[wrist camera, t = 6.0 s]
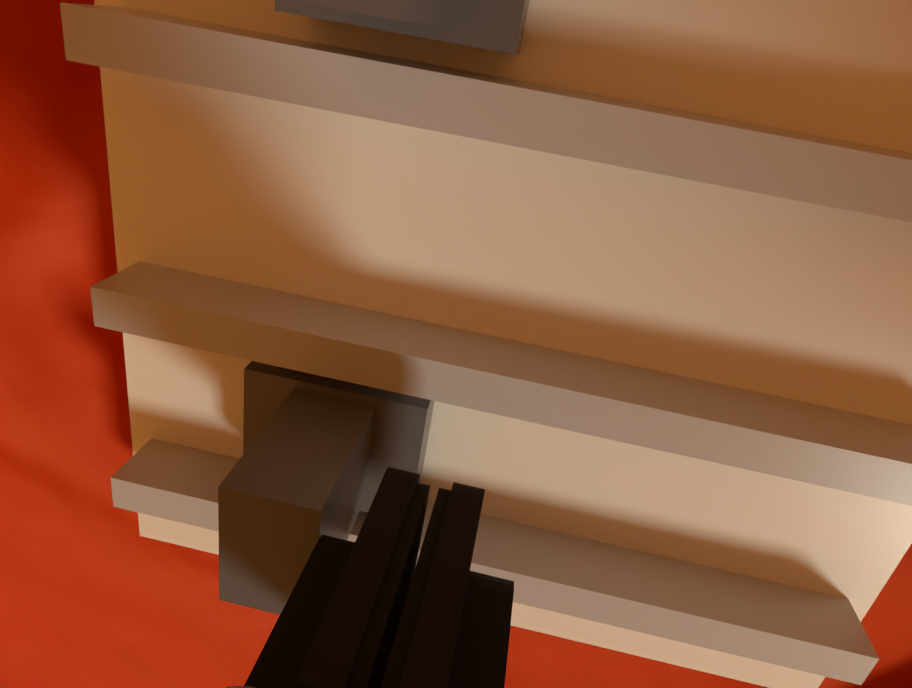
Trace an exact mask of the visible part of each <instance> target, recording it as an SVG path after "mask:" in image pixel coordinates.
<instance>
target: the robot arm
mask: <svg viewBox="0 0 912 688" xmlns="http://www.w3.org/2000/svg"><path fill="white" fill-rule="evenodd" d="M419 480H420V474H417V473H413V472H409V471H405V470H400V469H396V468H392V467H388V468H387V470H386V472H385V474H384V476H383V479H382V481H381V483H380V486H379V488H378V490H377V493H376V495H375V497H374V499H373V502H372V504H371V506H370V509H369V511H368V513H367V516H366V518H365V520H364V523H363V525H362V527H361V530H360V532H359V534H358V537H357V539H356V541H355V542H351V541H347V540H343V539H339V538H335V537H331V536H327V535H322V536H321V537H320V538H319V540H318V542H317V544H316V545H315V547H314V549H313V551H312V553H311V555H310V557H309V559H308V561H307V563H306V565H305V567H304V569H303V571H302V573H301V575H300V577H299V579H298V581H297V583H296V585H295V587H294V589H293V591H292V593H291V595H290V597H289V599H288V600H287V602H286V604H285V606H284V608H283V610H282V612H281V614H280V616H279V618H278V620H277V622H276V624H275V626H274V628H273V630H272V632H271V634H270V636H269V638H268V640H267V642H266V644H265V646H264V648H263V650H262V652H261V654H260V656H259V658H258V660H257V662H256V664H255V666H254V668H253V670H252V672H251V674H250V676H249V678H248V679H247V681H246V683H245V685H244V686H234V687H227V688H504V683H505V673H506V664H507V654H508V644H509V634H510V624H511V615H512V605H513V595H514V581H511V580H507V579H502V578H498V577H494V576H490V575H486V574H482V573H478V572H474V571H470V567H471V561H472V556H473V551H474V546H475V540H476V535H477V530H478V525H479V519H480V514H481V509H482V503H483V498H484V493H485V489H481V488H477V487H473V486H469V485H464V484H460V483H456V482H454V483H453V486H452V490H447V489H443V488H439V490H438V493H437V496H436V500H435V503H434V506H433V510H432V513H431V517H430V520H429V523H428V527H427V530H426V534H425V537H424V541H423V544H422V547H421V551H420V554H419V558H418V552H419V547H420V541H421V535H422V530H423V524H424V519H425V513H426V508H427V502H428V497H429V491H430V485H426V484H421V483H419ZM417 558H418V561H417ZM416 563H417V564H416Z"/></svg>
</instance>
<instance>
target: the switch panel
mask: <svg viewBox="0 0 912 688" xmlns="http://www.w3.org/2000/svg"><path fill="white" fill-rule="evenodd" d="M94 3H95V5H90V4H77V3H63V2H60V10H61V19H62V28H63V38H64V47H65V56H66V60H67V61H72V62H78V63H83V64H88V65H93V66H98V67H100V74H101V85H102V97H103V109H104V121H105V132H106V144H107V156H108V167H109V179H110V191H111V203H112V214H113V226H114V238H115V249H116V261H117V273H116V274H114V275H112V276H110V277H108V278H106V279H104V280H102V281H100V282H98V283H96V284H94V285H93V286H91V287H90V290H91V299H92V308H93V318H94V326H96V327H101V328H105V329H110V330H114V331H119V332H123V343H124V355H125V366H126V378H127V390H128V402H129V413H130V425H131V437H132V448H133V457H132V458H130V459H129V460H128V461H127V462H126V463H125V464H124V465H123V466H122V467H121V468H120V469H119V470H118V471H117V472H116V473H115V474H114V475H113V476H112V477H111V486H112V495H113V504H114V507H118V508H122V509H126V510H130V511H134V512H138V519H139V530H140V536H143V537H147V538H152V539H156V540H160V541H164V542H168V543H172V544H176V545H181V546H185V547H189V548H193V549H197V550H201V551H205V552H210V553H214V554H218V555H219V524H218V487H219V485H220V484H221V483H222V481H223V480H224V479H225V477H226V476H227V475H228V474H229V472H230V471H231V470H232V468H233V467H234V466H235V464H236V463H237V462H238V461H239V459H240V458H241V457H242V455H243V424H244V368H245V367H246V366H247V365H248V364H249V363H250V362H251V361H255V362H260V363H264V364H269V365H273V366H278V367H282V368H287V369H292V370H296V371H301V372H305V373H310V374H314V375H319V376H323V377H328V378H332V379H337V380H342V381H346V382H351V383H355V384H360V385H364V386H369V387H373V388H378V389H382V390H387V391H392V392H396V393H401V394H405V395H410V396H414V397H419V398H423V399H428V400H432V401H434V407H433V413H432V418H431V424H430V430H429V436H428V442H427V448H426V454H425V459H424V465H423V471H422V477H421V484H426V485H430V491H429V497H428V502H427V508H426V513H425V519H424V524H423V530H422V535H421V541H420V547H419V552H418V558H419V554H420V551H421V547H422V544H423V541H424V537H425V534H426V530H427V527H428V523H429V520H430V517H431V513H432V510H433V506H434V503H435V500H436V496H437V493H438V490H439V488H443V489H447V490H452V486H453V483H454V482H456V483H460V484H464V485H469V486H473V487H477V488H481V489H485V493H484V498H483V503H482V509H481V514H480V519H479V525H478V530H477V535H476V540H475V546H474V551H473V556H472V561H471V567H470V571H474V572H478V573H482V574H486V575H490V576H494V577H498V578H502V579H507V580H511V581H514V595H513V605H512V615H511V624H510V625H512V626H516V627H520V628H524V629H529V630H533V631H537V632H541V633H545V634H549V635H553V636H558V637H562V638H566V639H570V640H574V641H578V642H582V643H587V644H591V645H595V646H599V647H603V648H607V649H611V650H616V651H620V652H624V653H628V654H632V655H636V656H640V657H645V658H649V659H653V660H657V661H661V662H665V663H669V664H674V665H678V666H682V667H686V668H690V669H694V670H698V671H703V672H707V673H711V674H715V675H719V676H723V677H727V678H732V679H736V680H740V681H744V682H748V683H752V684H756V685H761V686H765V687H769V688H818V687H819V686H820V684H821V683H822V681H823V680H824V678H825V677H829V678H833V679H837V680H842V681H846V682H850V683H854V684H858V685H862V683H863V682H864V680H865V679H866V678H867V676H868V675H869V673H870V672H871V670H872V669H873V667H874V666H875V664H876V663H877V662H878V660H879V657H878V656H877V654H876V652H875V650H874V648H873V646H872V644H871V642H870V640H869V638H868V636H867V634H866V632H865V630H864V628H863V626H862V624H861V621H862V619H863V618H864V616H865V615H866V613H867V612H868V610H869V608H870V607H871V605H872V604H873V602H874V601H875V599H876V598H877V596H878V595H879V593H880V591H881V590H882V588H883V587H884V585H885V584H886V582H887V581H888V579H889V577H890V576H891V574H892V573H893V571H894V570H895V568H896V567H897V565H898V564H899V562H900V560H901V559H902V557H903V556H904V554H905V553H906V551H907V550H908V548H909V547H910V545H911V543H912V0H530V1H529V6H528V11H527V17H526V22H525V27H524V33H523V38H522V43H521V49H520V53H518V54H510V53H504V52H499V51H493V50H488V49H482V48H477V47H471V46H466V45H460V44H455V43H449V42H444V41H438V40H433V39H427V38H422V37H416V36H411V35H405V34H400V33H394V32H389V31H383V30H378V29H373V28H367V27H362V26H356V25H351V24H345V23H340V22H334V21H329V20H323V19H318V18H312V17H307V16H301V15H296V14H290V13H285V12H279V11H275V0H94ZM366 516H367V512H363V511H360V512H359V514H358V517H357V519H356V521H355V524H354V526H353V528H352V531H351V533H350V535H349V538H348V540H347V541H351V542H355V541H356V539H357V537H358V534H359V532H360V530H361V527H362V525H363V523H364V520H365V518H366ZM418 558H417V561H418ZM416 564H417V563H416Z"/></svg>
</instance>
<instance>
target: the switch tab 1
mask: <svg viewBox="0 0 912 688" xmlns="http://www.w3.org/2000/svg"><path fill="white" fill-rule="evenodd" d="M529 1H530V0H275V11H279V12H285V13H290V14H296V15H301V16H307V17H312V18H318V19H323V20H329V21H334V22H340V23H345V24H351V25H356V26H362V27H367V28H373V29H378V30H383V31H389V32H394V33H400V34H405V35H411V36H416V37H422V38H427V39H433V40H438V41H444V42H449V43H455V44H460V45H466V46H471V47H477V48H482V49H488V50H493V51H499V52H504V53H510V54H518V53H520V49H521V43H522V38H523V33H524V27H525V22H526V17H527V11H528V6H529Z"/></svg>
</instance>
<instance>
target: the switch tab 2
mask: <svg viewBox="0 0 912 688" xmlns="http://www.w3.org/2000/svg"><path fill="white" fill-rule="evenodd" d="M433 407H434V401H432V400H428V399H423V398H419V397H414V396H410V395H405V394H401V393H396V392H392V391H387V390H382V389H378V388H373V387H369V386H364V385H360V384H355V383H351V382H346V381H342V380H337V379H332V378H328V377H323V376H319V375H314V374H310V373H305V372H301V371H296V370H292V369H287V368H282V367H278V366H273V365H269V364H264V363H260V362H255V361H251V362H250V363H249V364H248V365H247V366H246V367H245V368H244V424H243V455H242V457H241V458H240V459H239V461H238V462H237V463H236V464H235V466H234V467H233V468H232V470H231V471H230V472H229V474H228V475H227V476H226V477H225V479H224V480H223V481H222V483H221V484H220V485H219V487H218V524H219V600H223V601H227V602H231V603H235V604H239V605H243V606H247V607H251V608H255V609H259V610H263V611H267V612H271V613H276V614H281V612H282V610H283V608H284V606H285V604H286V602H287V600H288V599H289V597H290V595H291V593H292V591H293V589H294V587H295V585H296V583H297V581H298V579H299V577H300V575H301V573H302V571H303V569H304V567H305V565H306V563H307V561H308V559H309V557H310V555H311V553H312V551H313V549H314V547H315V545H316V544H317V542H318V540H319V538H320V537H321V536H322V535H327V536H331V537H335V538H339V539H343V540H348V538H349V535H350V533H351V531H352V528H353V526H354V524H355V521H356V519H357V517H358V514H359V512H360V511H363V512H367V513H368V511H369V509H370V506H371V504H372V502H373V499H374V497H375V495H376V493H377V490H378V488H379V486H380V483H381V481H382V479H383V476H384V474H385V472H386V470H387V468H388V467H392V468H396V469H400V470H405V471H409V472H413V473H417V474H420V480H419V483H421V477H422V471H423V465H424V459H425V454H426V448H427V442H428V436H429V430H430V424H431V418H432V413H433Z"/></svg>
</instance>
